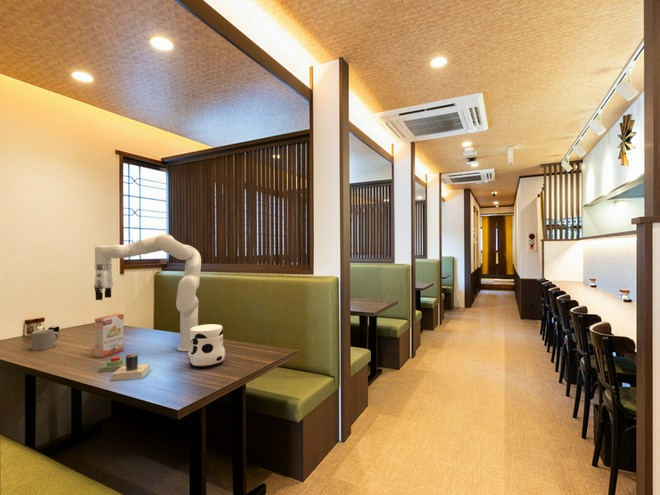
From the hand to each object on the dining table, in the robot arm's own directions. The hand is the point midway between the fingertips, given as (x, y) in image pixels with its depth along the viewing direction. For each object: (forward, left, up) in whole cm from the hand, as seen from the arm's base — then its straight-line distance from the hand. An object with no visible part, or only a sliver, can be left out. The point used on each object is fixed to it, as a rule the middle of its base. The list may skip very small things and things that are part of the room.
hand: (103, 298), depth 187 cm
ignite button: (-16, +26, -27) cm, 41 cm away
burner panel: (-28, +38, -31) cm, 57 cm away
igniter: (-16, +26, -31) cm, 44 cm away
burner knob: (-28, +38, -28) cm, 55 cm away
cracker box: (-2, -1, -31) cm, 31 cm away
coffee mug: (+42, -23, -31) cm, 57 cm away
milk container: (-59, +29, -31) cm, 73 cm away
